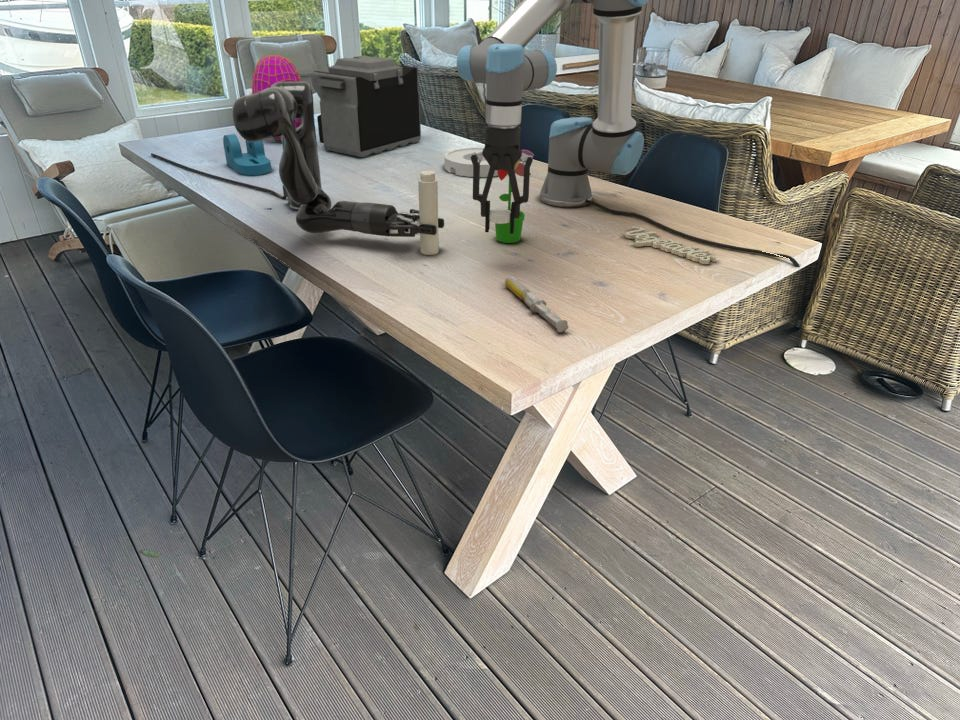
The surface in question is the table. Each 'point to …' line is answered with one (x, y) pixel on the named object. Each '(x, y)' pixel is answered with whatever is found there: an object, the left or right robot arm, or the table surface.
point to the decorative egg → (274, 76)
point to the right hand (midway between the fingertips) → (499, 230)
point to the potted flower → (504, 229)
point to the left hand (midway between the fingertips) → (439, 226)
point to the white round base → (465, 162)
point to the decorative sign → (669, 245)
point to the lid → (500, 216)
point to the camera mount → (246, 156)
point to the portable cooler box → (367, 105)
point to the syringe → (535, 304)
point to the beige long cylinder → (428, 211)
